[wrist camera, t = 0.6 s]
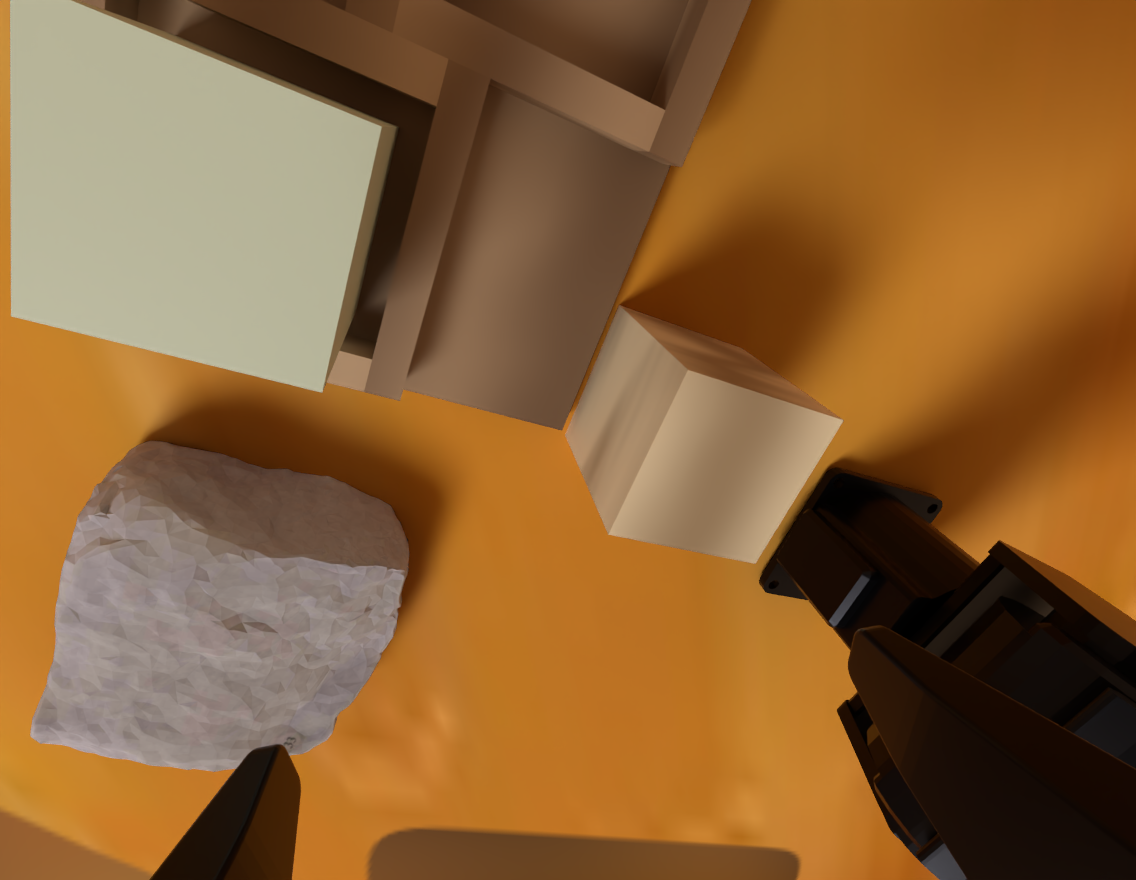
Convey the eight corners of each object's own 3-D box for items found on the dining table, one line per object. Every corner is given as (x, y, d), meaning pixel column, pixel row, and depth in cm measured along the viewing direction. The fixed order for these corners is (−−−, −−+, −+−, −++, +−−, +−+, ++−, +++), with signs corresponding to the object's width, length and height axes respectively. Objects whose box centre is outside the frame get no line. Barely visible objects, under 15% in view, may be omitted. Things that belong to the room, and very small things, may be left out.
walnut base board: (822, -235, 14) (887, -295, 12) (557, 420, 21) (571, 451, 19) (140, -792, 9) (60, -1047, 7) (87, 295, 16) (38, 319, 14)
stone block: (423, 472, 23) (106, 412, 17) (448, 557, 19) (55, 515, 14) (333, 673, 27) (58, 675, 22) (338, 774, 24) (10, 805, 18)
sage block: (398, 126, 15) (381, 126, 10) (356, 310, 17) (322, 392, 12) (176, 35, 13) (10, -24, 8) (155, 251, 15) (11, 316, 10)
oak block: (741, 347, 21) (843, 420, 16) (681, 464, 23) (755, 563, 18) (618, 304, 19) (687, 369, 14) (564, 434, 21) (608, 534, 16)
